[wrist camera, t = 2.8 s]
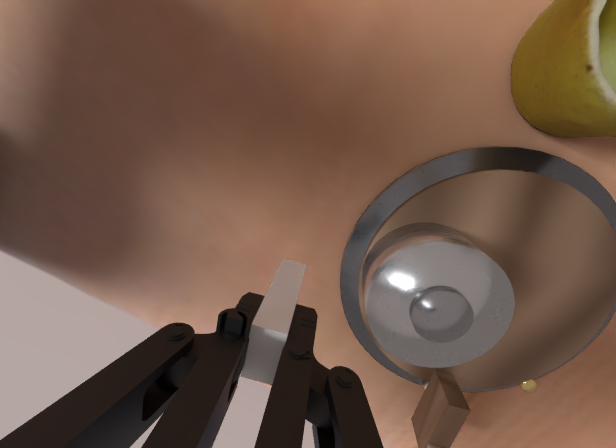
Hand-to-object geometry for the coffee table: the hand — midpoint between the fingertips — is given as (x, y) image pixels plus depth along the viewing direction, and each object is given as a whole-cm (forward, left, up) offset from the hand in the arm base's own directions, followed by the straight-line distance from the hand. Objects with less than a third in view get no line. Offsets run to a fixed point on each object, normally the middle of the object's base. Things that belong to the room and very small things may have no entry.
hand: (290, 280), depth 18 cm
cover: (+10, 0, -5) cm, 11 cm away
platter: (+15, -2, -6) cm, 16 cm away
